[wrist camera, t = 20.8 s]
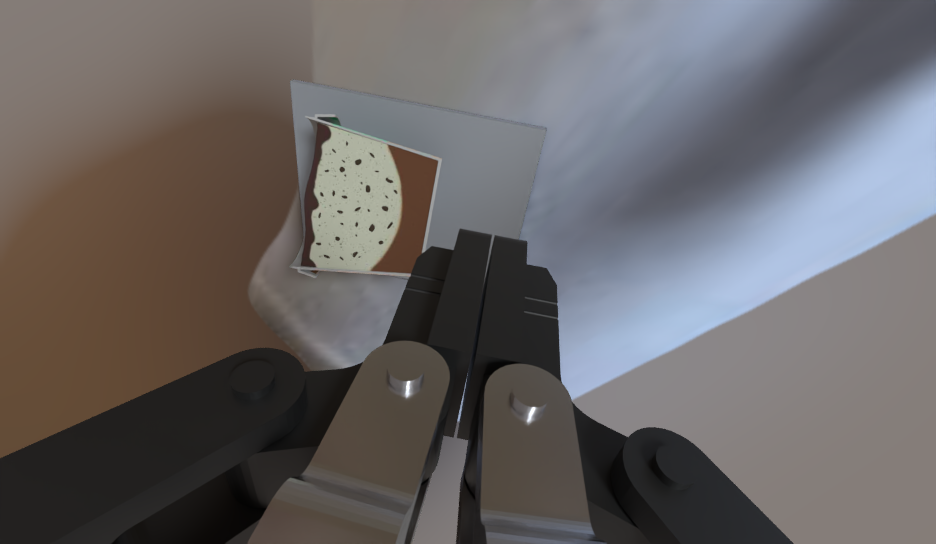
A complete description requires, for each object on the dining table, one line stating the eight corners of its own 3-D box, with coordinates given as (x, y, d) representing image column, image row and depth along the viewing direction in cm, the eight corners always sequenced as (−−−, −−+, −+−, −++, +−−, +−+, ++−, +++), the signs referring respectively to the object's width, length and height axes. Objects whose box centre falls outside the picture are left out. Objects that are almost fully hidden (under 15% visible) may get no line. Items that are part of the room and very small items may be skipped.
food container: (443, 138, 39) (324, 113, 38) (445, 137, 33) (305, 108, 32) (418, 273, 42) (308, 254, 41) (417, 295, 37) (288, 274, 35)
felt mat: (546, 127, 35) (546, 130, 35) (503, 294, 45) (503, 298, 45) (293, 79, 35) (289, 81, 35) (308, 255, 46) (305, 258, 45)
